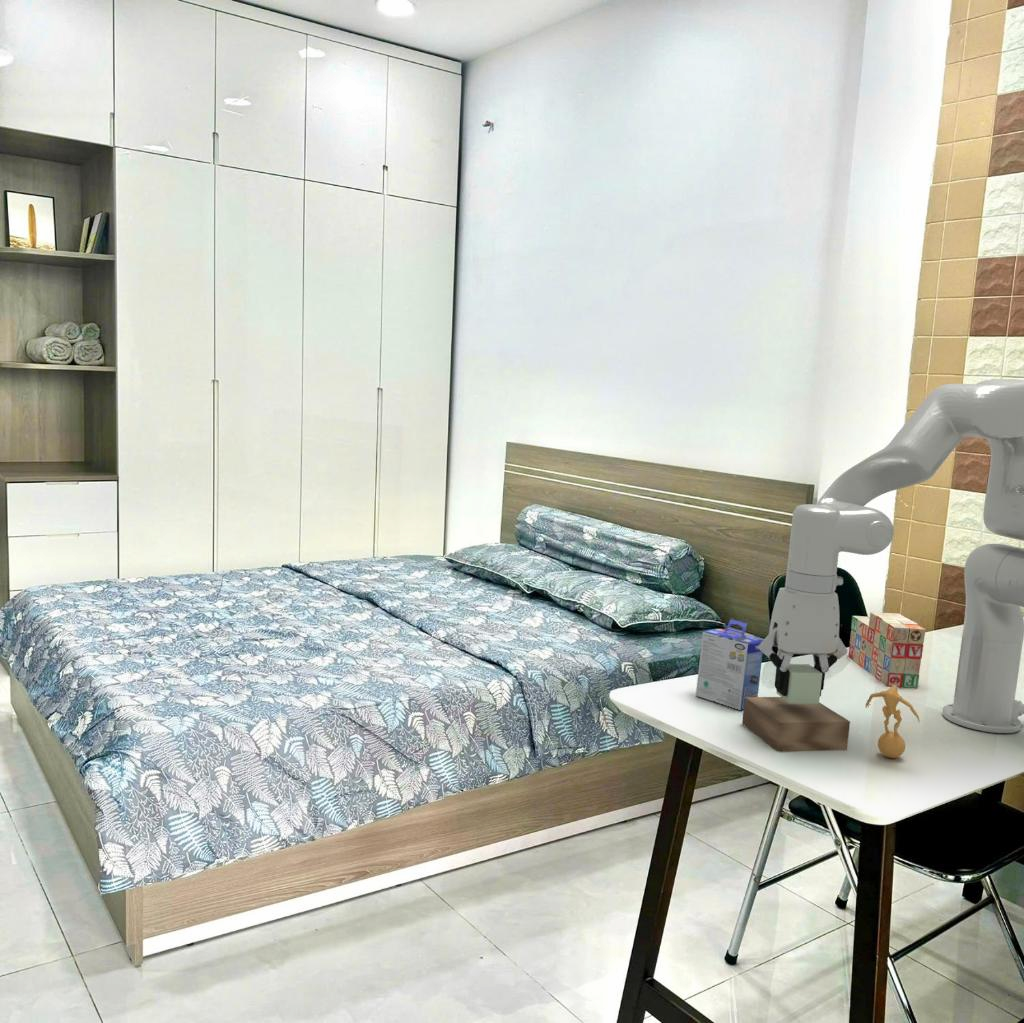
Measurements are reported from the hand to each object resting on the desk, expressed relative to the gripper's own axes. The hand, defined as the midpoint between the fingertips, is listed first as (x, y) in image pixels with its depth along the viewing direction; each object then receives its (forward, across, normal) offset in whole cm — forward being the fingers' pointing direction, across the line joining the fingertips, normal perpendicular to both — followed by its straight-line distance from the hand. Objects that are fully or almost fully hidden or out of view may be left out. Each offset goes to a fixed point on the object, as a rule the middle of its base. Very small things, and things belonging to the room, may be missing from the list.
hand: (798, 692), depth 156 cm
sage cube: (+1, 0, 0) cm, 1 cm away
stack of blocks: (+8, -36, -38) cm, 53 cm away
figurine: (+8, -11, +9) cm, 16 cm away
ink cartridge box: (+8, +5, -17) cm, 19 cm away
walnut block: (+8, 0, 0) cm, 8 cm away
